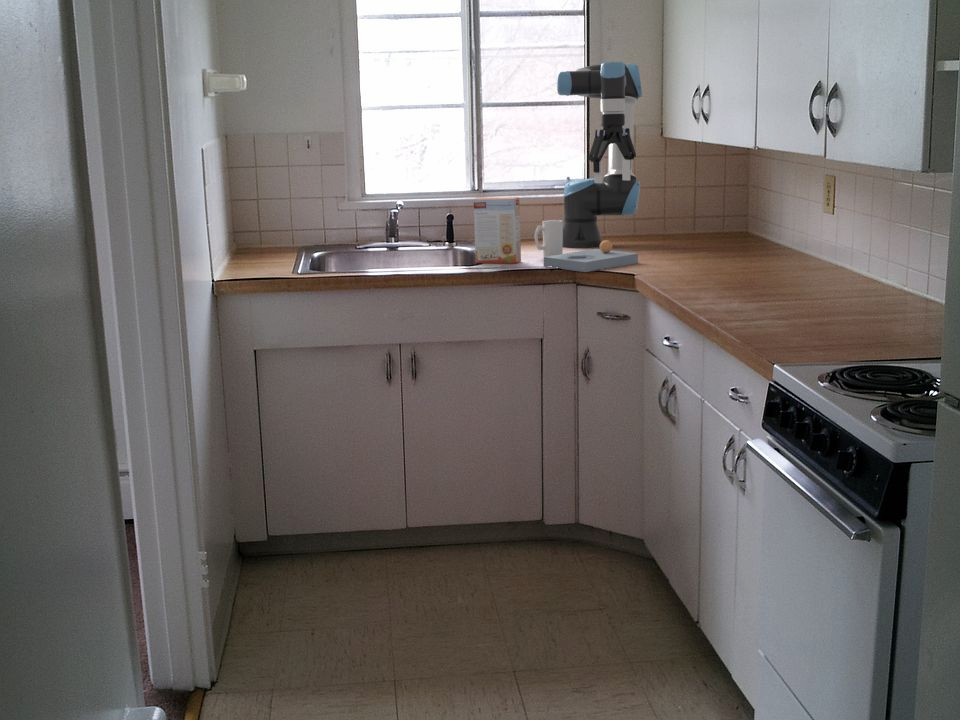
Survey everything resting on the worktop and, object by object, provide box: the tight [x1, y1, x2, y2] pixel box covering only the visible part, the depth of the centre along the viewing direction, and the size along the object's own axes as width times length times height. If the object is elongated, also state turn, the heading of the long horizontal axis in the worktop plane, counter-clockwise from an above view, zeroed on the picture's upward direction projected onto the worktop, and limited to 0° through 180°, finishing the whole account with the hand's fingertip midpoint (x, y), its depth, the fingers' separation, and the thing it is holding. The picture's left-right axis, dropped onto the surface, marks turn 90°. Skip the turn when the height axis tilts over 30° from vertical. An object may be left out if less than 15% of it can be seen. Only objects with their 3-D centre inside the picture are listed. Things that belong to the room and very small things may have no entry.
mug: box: [534, 219, 564, 258], centre depth 345 cm, size 10×7×12 cm, turn 113°
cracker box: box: [473, 196, 522, 265], centre depth 336 cm, size 14×6×21 cm, turn 72°
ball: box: [599, 239, 613, 253], centre depth 332 cm, size 4×4×4 cm
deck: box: [543, 248, 639, 273], centre depth 328 cm, size 24×18×3 cm
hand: (612, 181), depth 331 cm, fingers open, 13 cm apart
